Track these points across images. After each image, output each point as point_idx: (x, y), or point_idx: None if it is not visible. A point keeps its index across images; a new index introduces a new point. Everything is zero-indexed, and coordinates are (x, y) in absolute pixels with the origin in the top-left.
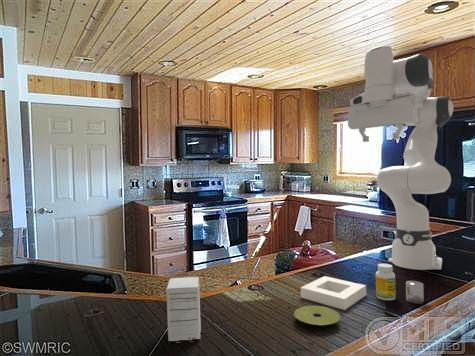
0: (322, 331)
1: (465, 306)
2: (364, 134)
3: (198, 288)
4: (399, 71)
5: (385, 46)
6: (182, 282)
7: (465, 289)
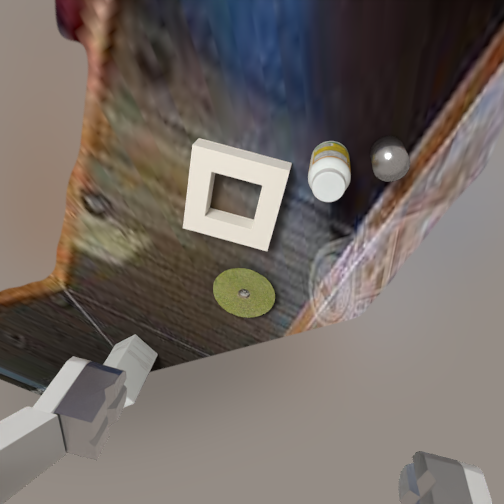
0: None
1: (487, 144)
2: (31, 455)
3: (131, 395)
4: None
5: None
6: None
7: None
